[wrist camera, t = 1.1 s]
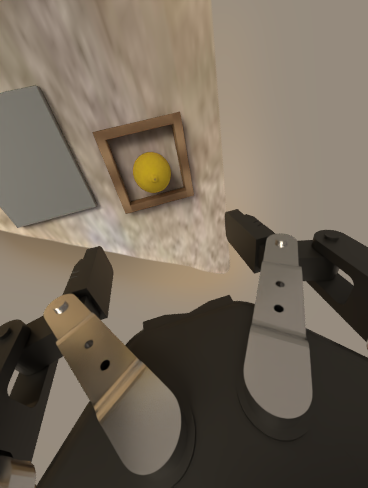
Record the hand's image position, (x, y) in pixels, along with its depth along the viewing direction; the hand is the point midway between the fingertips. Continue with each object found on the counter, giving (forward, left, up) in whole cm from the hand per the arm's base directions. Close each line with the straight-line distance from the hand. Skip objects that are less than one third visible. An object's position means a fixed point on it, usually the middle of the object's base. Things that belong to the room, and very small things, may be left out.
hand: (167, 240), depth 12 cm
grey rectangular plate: (-4, -16, -23) cm, 29 cm away
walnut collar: (0, +1, -23) cm, 23 cm away
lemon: (0, +1, -24) cm, 24 cm away
